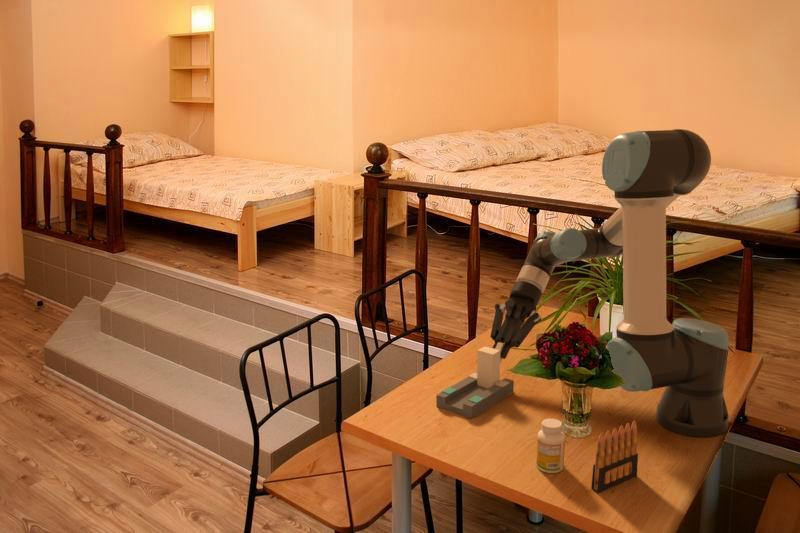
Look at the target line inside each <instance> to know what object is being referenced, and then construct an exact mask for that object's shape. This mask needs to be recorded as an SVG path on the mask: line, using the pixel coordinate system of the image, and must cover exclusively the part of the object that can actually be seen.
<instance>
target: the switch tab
mask: <svg viewBox="0 0 800 533" xmlns="http://www.w3.org/2000/svg"><path fill="white" fill-rule="evenodd" d="M476 361H477V362H476V363H477V366H476V367H477V370H476V372H477V385H478V386H481V387H484V388H490V387H491V386H493V385H494V384H495V383H497V382H498V381H500V378H501V363H500V350H497V349H493V347H489V346H486V345H484V346H483V347H481V348H479V349H477V360H476Z"/></svg>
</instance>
